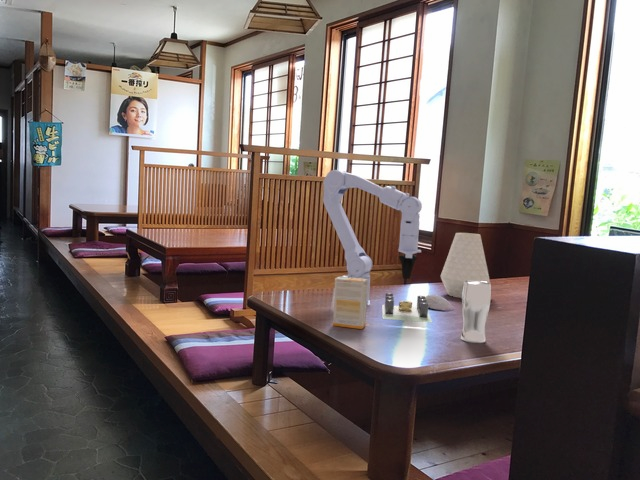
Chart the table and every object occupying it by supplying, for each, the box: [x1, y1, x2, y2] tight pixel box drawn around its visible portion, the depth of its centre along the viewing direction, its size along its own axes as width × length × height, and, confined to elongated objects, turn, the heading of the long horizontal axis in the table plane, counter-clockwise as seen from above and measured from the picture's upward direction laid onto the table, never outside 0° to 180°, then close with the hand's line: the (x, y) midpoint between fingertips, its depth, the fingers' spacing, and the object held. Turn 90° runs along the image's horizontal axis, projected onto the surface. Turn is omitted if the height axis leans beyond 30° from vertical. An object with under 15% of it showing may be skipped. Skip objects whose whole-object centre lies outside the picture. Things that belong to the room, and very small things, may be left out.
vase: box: [440, 232, 490, 299], centre depth 203 cm, size 18×17×23 cm
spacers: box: [384, 292, 429, 318], centre depth 169 cm, size 12×14×4 cm
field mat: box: [381, 304, 433, 323], centre depth 166 cm, size 14×20×1 cm
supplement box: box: [332, 275, 368, 330], centre depth 149 cm, size 8×5×13 cm, turn 71°
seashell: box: [425, 294, 455, 312], centre depth 177 cm, size 10×6×10 cm
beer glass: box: [460, 280, 492, 344], centre depth 140 cm, size 7×7×15 cm
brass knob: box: [398, 300, 413, 312], centre depth 170 cm, size 4×4×3 cm
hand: (406, 278), depth 174 cm, fingers closed
